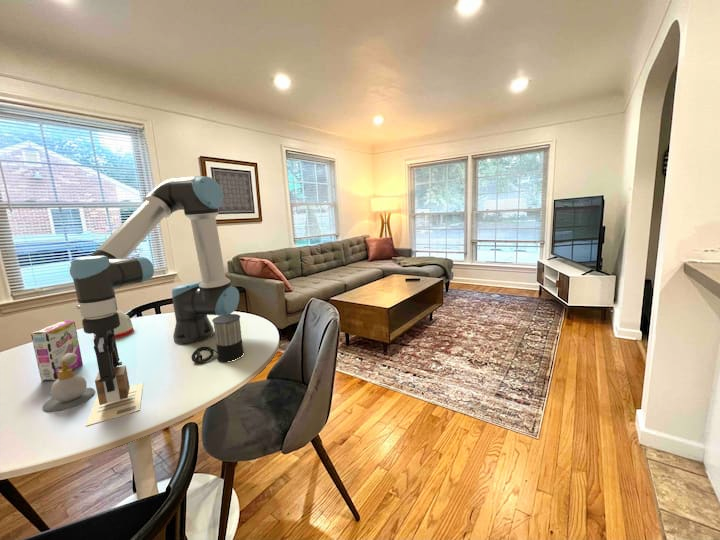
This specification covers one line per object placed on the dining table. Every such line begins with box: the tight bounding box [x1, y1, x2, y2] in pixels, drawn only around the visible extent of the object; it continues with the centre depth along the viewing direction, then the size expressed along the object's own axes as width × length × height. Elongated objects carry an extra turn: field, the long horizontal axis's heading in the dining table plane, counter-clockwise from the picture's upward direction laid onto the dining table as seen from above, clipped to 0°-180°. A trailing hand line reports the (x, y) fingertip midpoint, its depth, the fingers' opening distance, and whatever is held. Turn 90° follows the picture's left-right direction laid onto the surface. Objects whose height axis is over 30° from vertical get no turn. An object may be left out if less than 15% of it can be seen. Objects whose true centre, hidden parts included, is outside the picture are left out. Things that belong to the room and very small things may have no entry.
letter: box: [85, 382, 144, 427], centre depth 87 cm, size 11×16×1 cm
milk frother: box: [191, 313, 245, 364], centre depth 110 cm, size 14×16×15 cm
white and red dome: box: [93, 309, 134, 340], centre depth 138 cm, size 14×14×15 cm
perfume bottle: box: [50, 353, 88, 402], centre depth 88 cm, size 8×10×12 cm
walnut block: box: [94, 364, 130, 405], centre depth 86 cm, size 6×6×7 cm
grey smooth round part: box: [42, 387, 96, 413], centre depth 89 cm, size 11×11×1 cm
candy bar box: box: [30, 320, 83, 382], centre depth 104 cm, size 11×5×16 cm, turn 5°
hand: (115, 394), depth 86 cm, fingers closed on walnut block, 6 cm apart
